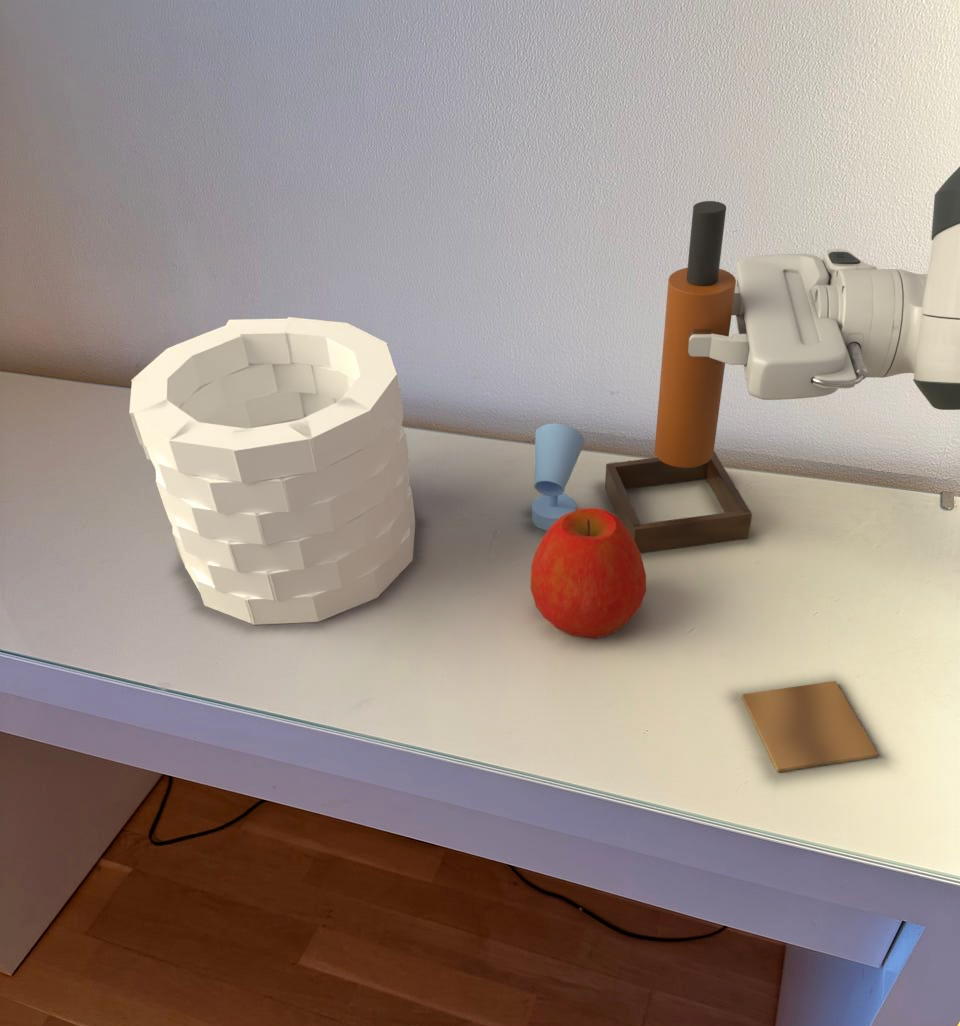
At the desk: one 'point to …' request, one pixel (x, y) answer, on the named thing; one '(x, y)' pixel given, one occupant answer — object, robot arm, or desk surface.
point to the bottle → (686, 379)
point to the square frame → (686, 529)
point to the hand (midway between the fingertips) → (686, 323)
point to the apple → (588, 574)
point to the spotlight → (554, 472)
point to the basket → (280, 465)
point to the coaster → (808, 726)
